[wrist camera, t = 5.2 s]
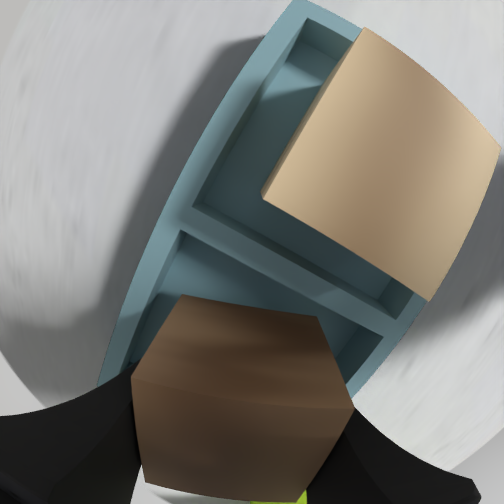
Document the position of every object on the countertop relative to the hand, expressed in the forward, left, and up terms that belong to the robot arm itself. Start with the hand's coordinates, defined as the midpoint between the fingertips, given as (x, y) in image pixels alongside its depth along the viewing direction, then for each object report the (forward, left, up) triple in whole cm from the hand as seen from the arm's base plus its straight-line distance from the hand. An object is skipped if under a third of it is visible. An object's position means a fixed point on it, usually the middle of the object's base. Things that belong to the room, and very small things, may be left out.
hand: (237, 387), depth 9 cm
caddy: (0, -4, -4) cm, 6 cm away
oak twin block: (0, -9, -3) cm, 9 cm away
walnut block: (0, 0, -2) cm, 2 cm away
